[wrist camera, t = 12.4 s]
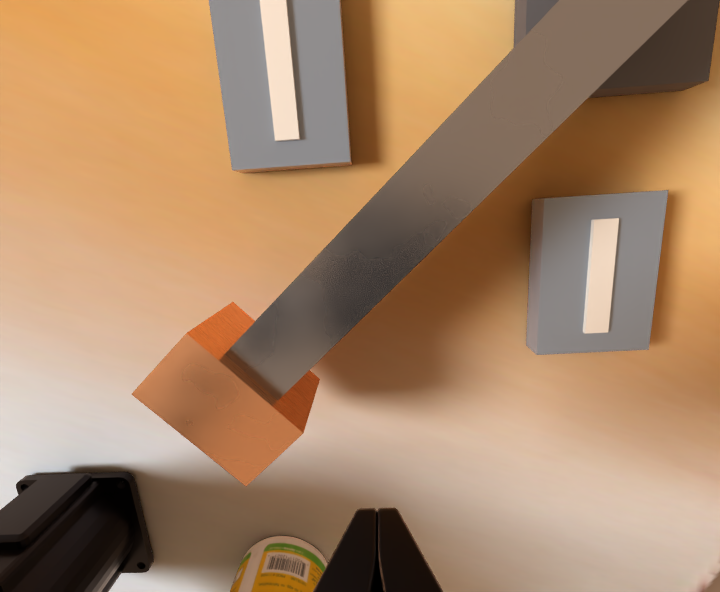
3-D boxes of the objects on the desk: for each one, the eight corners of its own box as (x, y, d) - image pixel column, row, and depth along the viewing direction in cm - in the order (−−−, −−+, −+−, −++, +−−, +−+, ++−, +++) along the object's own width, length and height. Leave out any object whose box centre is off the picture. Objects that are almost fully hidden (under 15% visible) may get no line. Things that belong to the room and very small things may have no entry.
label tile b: (630, 340, 18) (651, 351, 17) (526, 345, 18) (538, 356, 17) (647, 191, 16) (672, 189, 15) (532, 199, 17) (546, 198, 15)
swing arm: (628, -126, 13) (790, -337, 8) (713, -9, 13) (911, -134, 8) (200, 341, 17) (131, 394, 12) (280, 410, 18) (246, 486, 13)
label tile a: (351, 165, 16) (350, 161, 15) (242, 173, 17) (230, 169, 15) (339, -18, 15) (336, -41, 13) (218, -6, 15) (203, -28, 14)
